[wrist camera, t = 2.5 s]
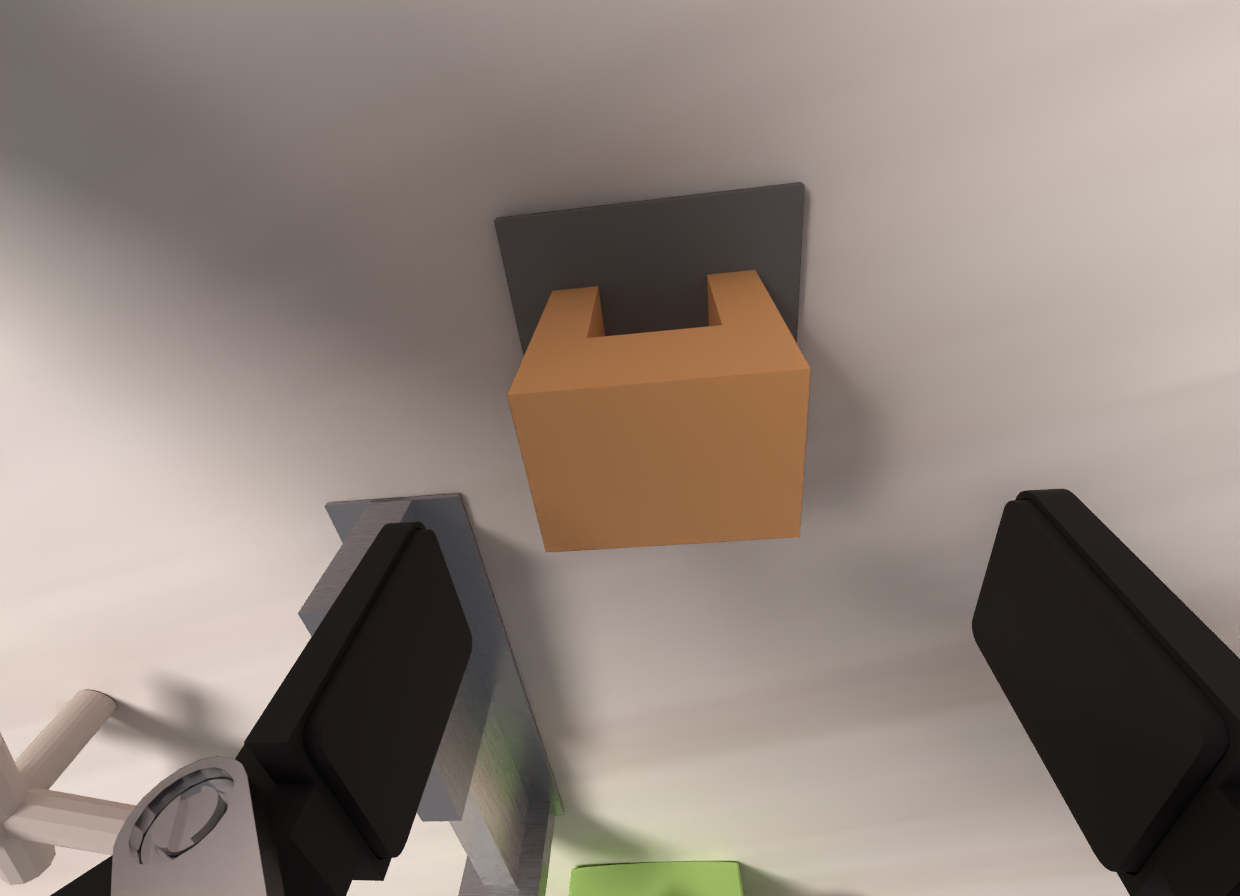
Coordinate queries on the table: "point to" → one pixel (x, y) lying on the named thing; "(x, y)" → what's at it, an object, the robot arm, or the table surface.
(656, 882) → the green square teapot
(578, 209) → the pad
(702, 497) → the clip
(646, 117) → the table surface
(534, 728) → the rail
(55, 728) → the pipe connector
